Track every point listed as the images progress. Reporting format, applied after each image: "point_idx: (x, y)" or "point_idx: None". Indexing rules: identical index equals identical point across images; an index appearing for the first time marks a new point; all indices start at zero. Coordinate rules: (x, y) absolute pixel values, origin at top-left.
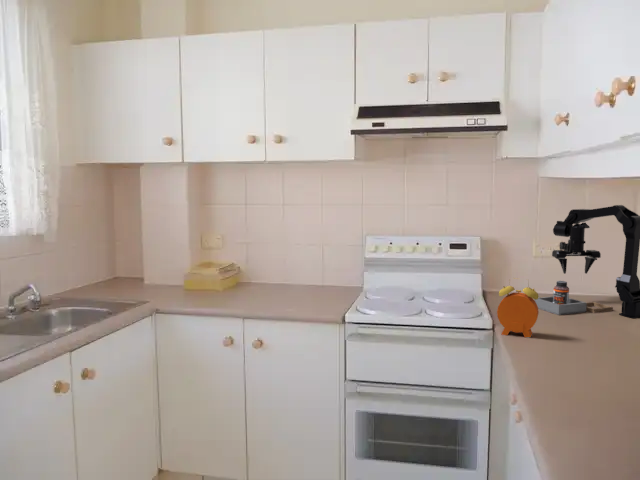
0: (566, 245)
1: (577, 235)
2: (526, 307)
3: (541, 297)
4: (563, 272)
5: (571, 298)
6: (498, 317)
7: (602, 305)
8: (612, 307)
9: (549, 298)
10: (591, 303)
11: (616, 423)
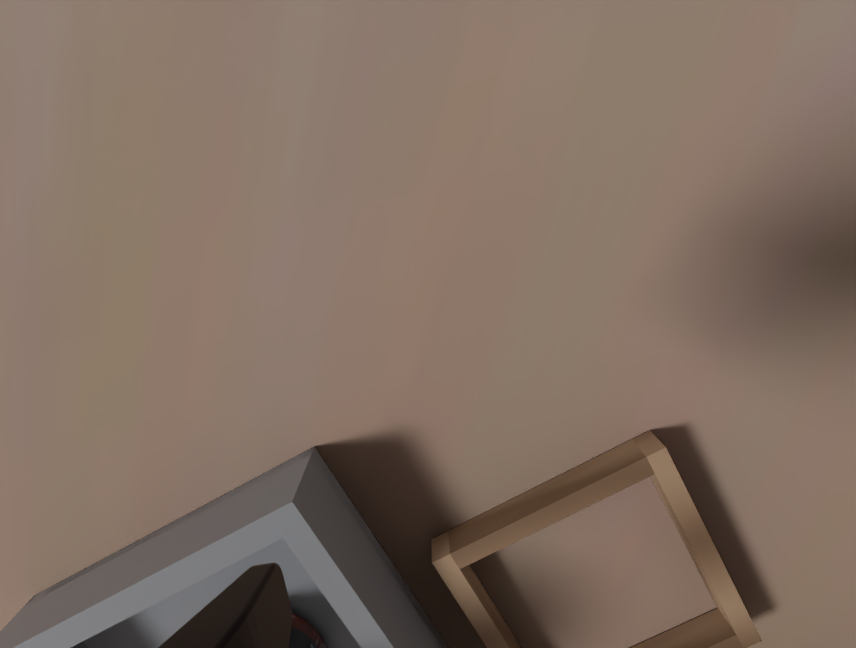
0: None
1: None
2: None
3: (37, 636)
4: (240, 584)
5: (380, 635)
6: None
7: (699, 561)
8: (755, 640)
9: (140, 603)
10: (623, 482)
11: None
